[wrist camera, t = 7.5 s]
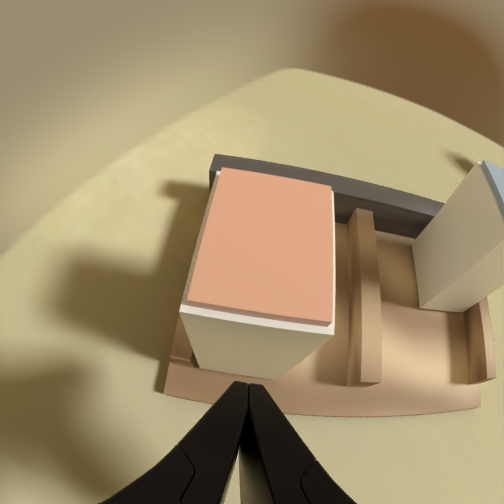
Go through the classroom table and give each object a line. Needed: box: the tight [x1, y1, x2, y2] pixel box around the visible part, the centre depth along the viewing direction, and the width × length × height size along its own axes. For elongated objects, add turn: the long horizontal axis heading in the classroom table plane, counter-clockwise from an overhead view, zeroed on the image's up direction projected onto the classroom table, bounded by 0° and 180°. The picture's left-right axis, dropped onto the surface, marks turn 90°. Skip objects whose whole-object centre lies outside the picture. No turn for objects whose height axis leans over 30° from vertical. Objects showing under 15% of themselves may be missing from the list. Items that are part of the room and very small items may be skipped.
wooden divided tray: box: [163, 154, 496, 417], centre depth 17 cm, size 14×20×4 cm
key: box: [179, 167, 335, 380], centre depth 12 cm, size 5×4×9 cm
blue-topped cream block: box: [411, 160, 504, 313], centre depth 15 cm, size 5×4×9 cm
